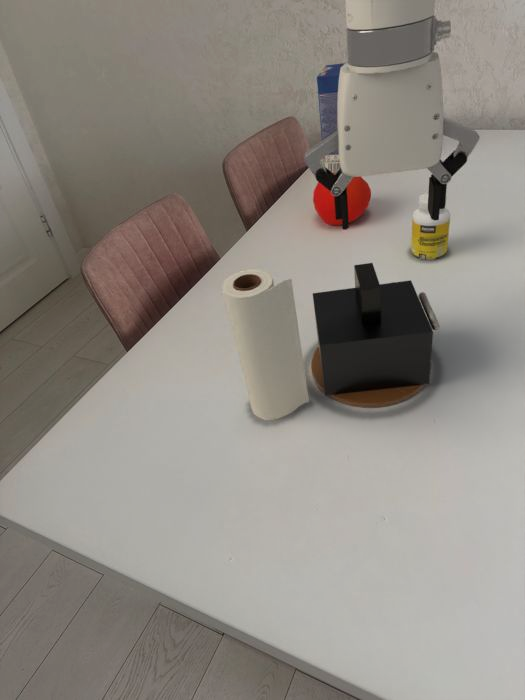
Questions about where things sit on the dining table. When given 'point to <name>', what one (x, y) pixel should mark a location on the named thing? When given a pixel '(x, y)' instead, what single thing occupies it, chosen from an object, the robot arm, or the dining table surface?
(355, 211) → the tomato
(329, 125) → the juice carton
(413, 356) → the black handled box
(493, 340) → the dining table surface
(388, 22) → the robot arm
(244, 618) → the dining table surface
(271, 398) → the paper towel roll
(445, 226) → the pill bottle
